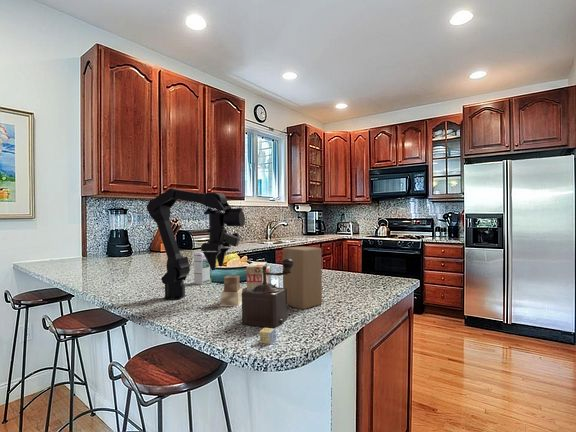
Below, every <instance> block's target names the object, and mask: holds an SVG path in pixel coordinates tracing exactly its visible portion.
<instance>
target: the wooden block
mask: <svg viewBox="0 0 576 432" xmlns="http://www.w3.org/2000/svg"><path fill="white" fill-rule="evenodd" d="M286 258H287V259H291V260H293V266H292V267H291V273H288V274H287V275H285V274H284V275H282V288H287V307H292V308H297V309H301V310H306V309H309V308H312V307H316V306H320V305H322V304H323V287H322V286H323V282H322V281H323V280H322V279H323V278H322V277H323V273H322V272H323V271H322V269H323V267H322V265H323V263H322V248H321V247H313V246H301V245H300V246H293V247H292V246H291V247H290V246H289V247H283V248H282V261H283V260H284V259H286ZM283 270H284V268H283V267H282V271H283Z"/></svg>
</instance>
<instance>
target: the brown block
mask: <svg viewBox="0 0 576 432" xmlns="http://www.w3.org/2000/svg"><path fill="white" fill-rule="evenodd" d="M240 280H241V279H240V275H238V274H237V275H226V276H224V277H223V291H224V292H237V291H239V290H240V289H241V287H240V284H241V283H240V282H241V281H240Z"/></svg>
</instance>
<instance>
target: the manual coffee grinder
mask: <svg viewBox="0 0 576 432" xmlns="http://www.w3.org/2000/svg"><path fill="white" fill-rule="evenodd" d="M281 266H282V271H281V272H272V271H271V272H267V271H266V268H267V267H266V266H263V267H262V269H263V271H262V273H263V283H262V284H260V285H258V286H256V287H255V288H253V289H250V290H247V289H246V290H245V291H242V304H241V324H242V325H243V326H247V327H248V326H249V327H255V328H262V329H263V328H272V329H276V328H277V327H279V326H280V325H282V324H283V323H284V322H285V321H287V319H288V318H289V317H288V305H287V288H283V287H277V283H275V284H272V282H271V283H269V284H267V282H266V275H271V276H277V277H278V276H279V277H280V276H283V275H284V274H285V275H287V274H288V273H291V267H292V266H293V260H291V259H287V258H286V259H284V260H283V259H282V260H281ZM283 268H284V270H283Z"/></svg>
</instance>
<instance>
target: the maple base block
mask: <svg viewBox="0 0 576 432" xmlns="http://www.w3.org/2000/svg"><path fill="white" fill-rule="evenodd" d="M242 292H243V288H240V290H239V291H237V292H224V290H223V291H221V296H220V297H221V301H220V302H221V303H220V305H239V304H240V303H241V302H242Z"/></svg>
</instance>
